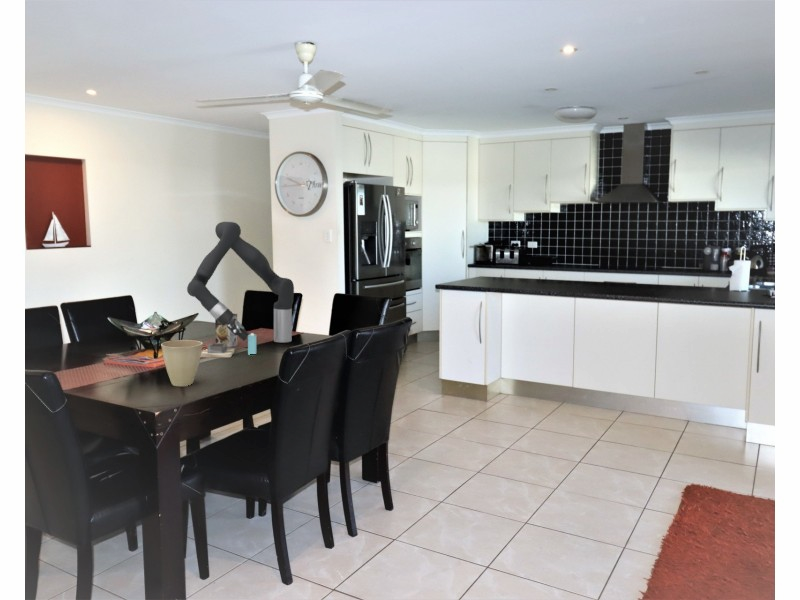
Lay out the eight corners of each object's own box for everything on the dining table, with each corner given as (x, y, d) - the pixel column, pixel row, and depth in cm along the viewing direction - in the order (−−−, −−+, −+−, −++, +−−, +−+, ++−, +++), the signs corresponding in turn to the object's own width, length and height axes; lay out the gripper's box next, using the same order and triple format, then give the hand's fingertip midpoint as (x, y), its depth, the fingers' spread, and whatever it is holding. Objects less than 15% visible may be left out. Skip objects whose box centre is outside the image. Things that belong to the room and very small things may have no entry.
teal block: (249, 353, 294) (248, 332, 293) (256, 353, 295) (256, 332, 294) (248, 354, 291) (247, 334, 289) (255, 355, 291) (255, 334, 290)
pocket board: (205, 350, 297) (204, 342, 296) (234, 350, 299) (234, 342, 298) (199, 357, 283) (198, 348, 283) (230, 357, 285) (230, 348, 284)
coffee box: (214, 345, 309) (214, 313, 307) (223, 343, 315) (222, 311, 313) (229, 347, 306) (229, 315, 304) (237, 345, 312) (237, 313, 310)
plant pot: (197, 389, 231) (197, 347, 229) (156, 389, 230) (155, 347, 228) (207, 379, 246) (206, 339, 244) (168, 378, 245) (167, 339, 243)
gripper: (224, 310, 282) (250, 335, 284) (229, 305, 296) (254, 329, 298) (212, 321, 282) (239, 346, 284) (218, 316, 296) (243, 340, 298)
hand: (246, 337), depth 291 cm, fingers open, 8 cm apart
